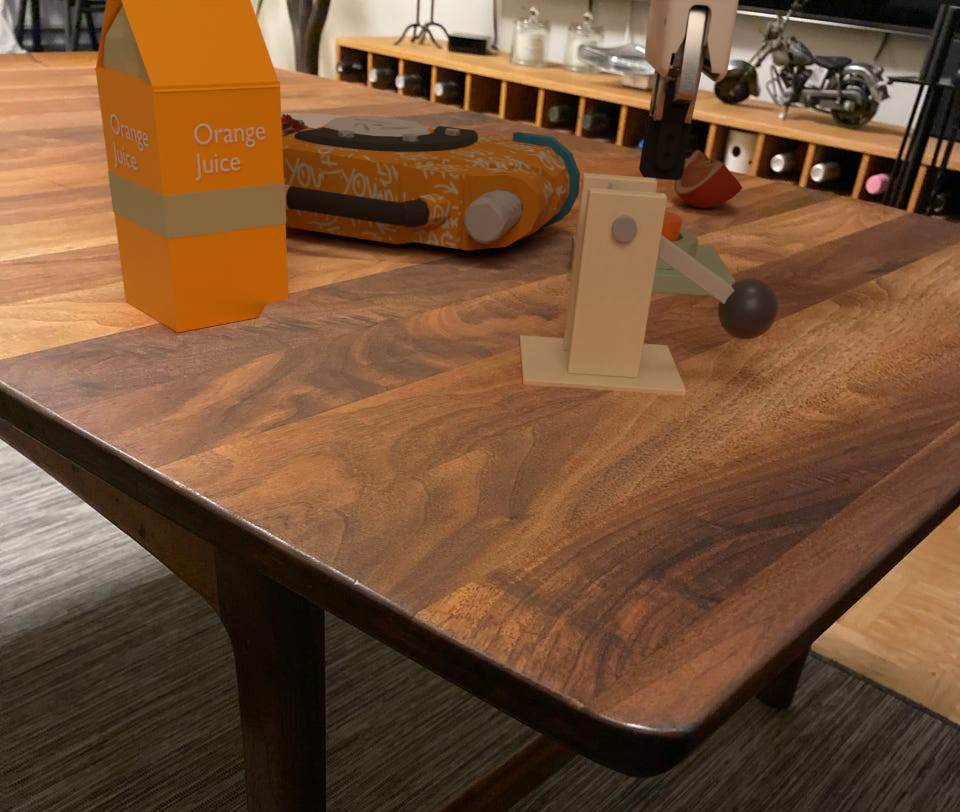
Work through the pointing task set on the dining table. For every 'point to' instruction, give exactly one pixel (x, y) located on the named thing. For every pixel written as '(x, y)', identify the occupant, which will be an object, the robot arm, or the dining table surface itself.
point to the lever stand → (609, 297)
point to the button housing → (675, 281)
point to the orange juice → (194, 159)
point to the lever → (726, 292)
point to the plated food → (304, 121)
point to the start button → (671, 226)
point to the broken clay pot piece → (706, 182)
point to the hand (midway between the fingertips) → (660, 176)
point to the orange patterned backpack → (425, 183)
